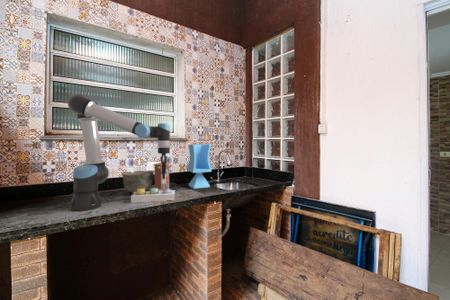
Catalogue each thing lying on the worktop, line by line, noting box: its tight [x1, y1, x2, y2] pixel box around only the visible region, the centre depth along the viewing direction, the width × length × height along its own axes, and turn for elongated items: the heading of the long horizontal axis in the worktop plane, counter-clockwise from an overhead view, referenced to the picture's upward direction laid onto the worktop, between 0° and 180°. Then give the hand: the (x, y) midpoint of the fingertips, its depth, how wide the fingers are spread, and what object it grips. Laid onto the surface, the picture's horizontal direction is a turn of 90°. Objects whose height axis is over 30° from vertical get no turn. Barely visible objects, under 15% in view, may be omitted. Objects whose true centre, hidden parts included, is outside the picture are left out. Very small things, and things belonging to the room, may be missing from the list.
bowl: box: [121, 170, 155, 194], centre depth 164 cm, size 22×22×15 cm
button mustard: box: [137, 188, 146, 195], centre depth 143 cm, size 5×5×3 cm
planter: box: [186, 144, 212, 190], centre depth 186 cm, size 16×16×35 cm
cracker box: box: [154, 162, 170, 191], centre depth 166 cm, size 21×7×15 cm
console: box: [130, 189, 176, 204], centre depth 145 cm, size 26×12×4 cm, turn 103°
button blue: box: [163, 188, 172, 194], centre depth 147 cm, size 5×5×3 cm
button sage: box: [149, 187, 158, 194], centre depth 145 cm, size 5×5×3 cm
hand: (163, 183), depth 146 cm, fingers closed
